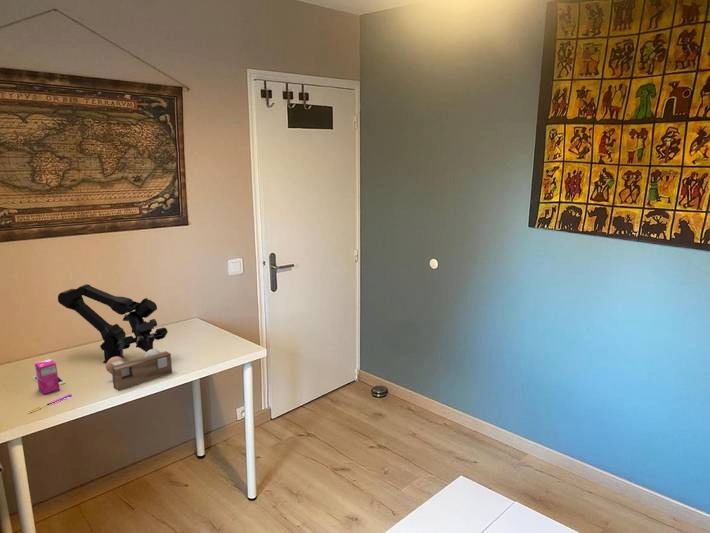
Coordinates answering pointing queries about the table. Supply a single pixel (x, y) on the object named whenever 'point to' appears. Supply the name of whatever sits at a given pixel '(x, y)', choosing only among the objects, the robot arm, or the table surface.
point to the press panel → (140, 371)
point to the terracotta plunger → (117, 361)
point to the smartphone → (58, 380)
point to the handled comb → (55, 401)
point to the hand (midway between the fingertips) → (152, 355)
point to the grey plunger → (160, 362)
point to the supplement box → (47, 376)
